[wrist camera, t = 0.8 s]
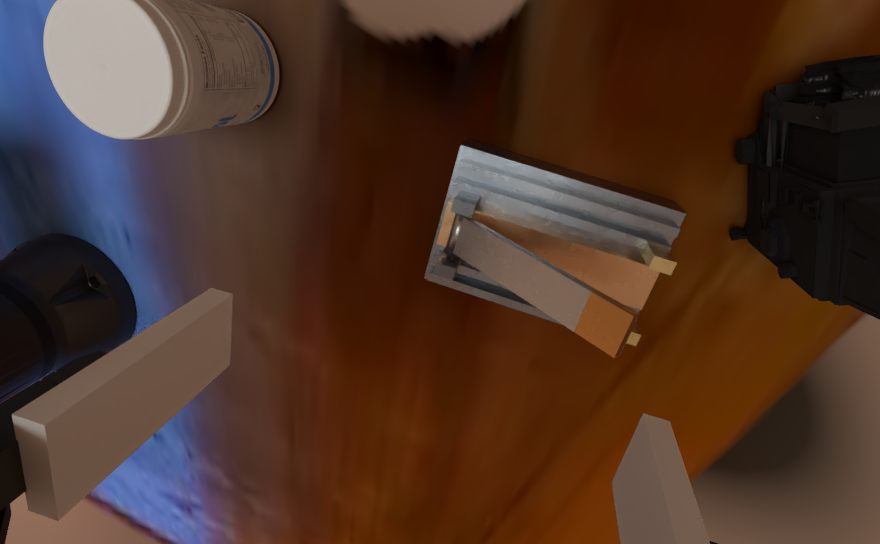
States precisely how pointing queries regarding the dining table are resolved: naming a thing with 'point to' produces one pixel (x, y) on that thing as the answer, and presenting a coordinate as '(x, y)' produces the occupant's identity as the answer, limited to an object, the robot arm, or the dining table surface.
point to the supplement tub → (158, 66)
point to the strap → (543, 285)
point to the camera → (820, 182)
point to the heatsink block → (557, 227)
